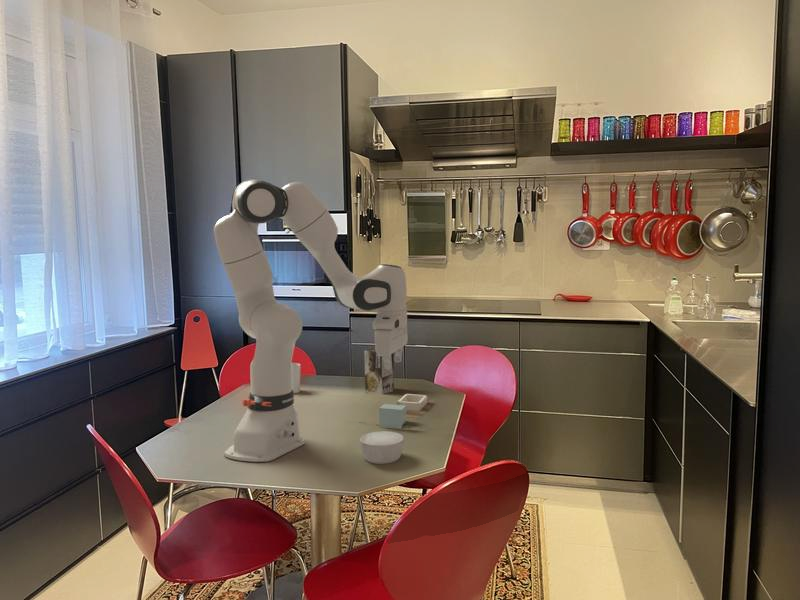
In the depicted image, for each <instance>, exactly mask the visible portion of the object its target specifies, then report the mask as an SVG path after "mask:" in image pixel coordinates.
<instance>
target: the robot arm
mask: <svg viewBox="0 0 800 600" xmlns="http://www.w3.org/2000/svg"><path fill="white" fill-rule="evenodd" d="M231 196H232V197H231V204H230V210H229V213H230V214H227V215H225V216H223V217H222V218H220V219H218V221H216V223H215V225H214V226H213V234H214V240H215V244H216V249H217V251H218V254H219V257H220V260H221V263H222V265H223V268H224V270H225V272H226V275H227V277H228V280H229V283H230V284H231V287H232V290H233V293H234V297H235V302H236V307H237V312H238V325H239V326H240V328H241V329H242V330H243V332H244V333H245V334H246V335H247V336H248V337H251V338H252V339H255V341H256V342H255V343H256V346H255V351H254V355H253V356H254V357H253V359H252V361H251V362H250V365H249V369H250V371H249V373H250V392H249V395H248V398H243V399H242V403H241V404H242V405H241V406H243V407H247V410H246V412H245V413H244V415H243V416H242V418H241V420H240V421H239V424H238V426H237V427H236V428H235V429H234V433H233V444H232V445H230V446H229V447H228V448H227V449H226V450H225V451H224V457H226V458H227V459H231V460H236V461H243V462H255V463H259V462H262V463H263V462H269V461H273V460H275V459H277V458H279V457H281V456H284V455H286V454H287V453H289V452H291V451H293V450H295V449H297V448H299V447H301V446H303V445H305V440H304V438H303V437H301V430H300V420H299V413H298V412H297V411H296V409H295V407H294V403H295V400H294V398H295V393H294V394H293V390H292V374H291V364H292V363H293V362H292V361H293V355H294V350H295V346H296V342H297V340H298V339H299V337H300V336H301V334H302V331H303V321H302V320H303V319H302V318H301V316H300V315H299V313H298V312H296V310H294V309H293V308H291V307H290V306H289V305H287V304H283V303H278V301H277V299H276V298H275V293H274V287H273V281H274V274H273V271H272V269H271V268H272V267H271V266H270V264H269V261H268V257H267V255H266V253H265V250H264V247H263V245H262V243H261V240H260V237H259V233H258V231H259V230H258V228H259V226H260V224H266V223H270V222H272V221H274V220H278V219H281V221H284V223H285V224H286V225H287V226H288V228H289V230H291V231H292V233H293V234H294V236H295V237H296V239H297V240H299V242H300V243H301V245H303V247H305V249H307V250H308V252H309V253H310V254H311V255H312V257H313V258H314V259H315V261H316V263H317V264H318V266H319V267H320V268H321V270H322V271H323V273H324V275H325V276H326V277H327V279H328V280H329V281H330V284H331V286H332V290H333V294H334V297H335V300H336V301H337V303H338V304H339V305H340V306H342V307H343V308H345V309H353V310H357V311H358V310H359V311H362V312H368V311H374V310H376V315H375V316H376V317H375V319H374V320H372V321H373V322H372V329H373V330H375V331H374V346H375V347H374V348H375V350H376V354H377V356H382V358H383V361H384V368H385V369H388V370H389V369H391V368H392V363H391V360H390V358H391V354H392V353H393V354H394V355H393V361H394V362H395V363H400V362H402V355H403V349H404V348H403V347H405V346H406V345H407V344H408V340H409V337H408V307H407V304H406V303H407V301H406V299H407V296H408V295H407V293H408V291H407V289H408V288H407V278H406V273H405V272H406V271H405V270H404V269H403V268H402V267H401V266H398V265H394V264H387V263H381V264H378V266H377V267H375V269H373V270H371V272H369V273H367V274H365V275H363V276H359V275H356V274H354V273H353V272H351V270H349V268H348V267H347V266H346V264H345V262H344V261H343V259H342V258H341V256H340V254H338V252H337V250H336V248H335V246H336V245H335V242H336V240H337V238H338V231H339V229H338V227H337V223H336V221H335V220H334V218H333V216H332V215H331V213H330V212H329V211H328V209H327V208H326V206H325V205H324V203H322V201H321V200H320V199H319V198H318V196H317V195H316V194H315V193H314V192H313V191H312V189H310V188H309V187H308V186H307V185H305V183H302V182H300V181H299V182H298V181H294V182H293V181H292V182H289V183H287V184H285V185H284V186H283V187H279V186H278V185H277V186H276V185H275V184H272V183H271V182H268V181H265V180H263V179H260V178H251V179H246V180H243V181H242V182H240V183H238V185H237V186H236V187H235V189H234V190H233V193H232V195H231Z"/></svg>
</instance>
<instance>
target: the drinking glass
mask: <svg viewBox="0 0 800 600" xmlns="http://www.w3.org/2000/svg"><path fill="white" fill-rule="evenodd" d="M291 374H292V390H293V393H294V394H298V393H300V392H301V364H300V363H297V362H296V363H295V362H292V364H291Z"/></svg>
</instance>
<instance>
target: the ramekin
mask: <svg viewBox="0 0 800 600" xmlns="http://www.w3.org/2000/svg"><path fill="white" fill-rule="evenodd" d="M404 442H405V438H404V436H403V435H402V434H400V433H399V432H394V431H386V430H384V431H371V432H368V433H365V434H363V435H362V436H361V437H360V438H359V444H360V447H361V452H362V456H363V458H364V460H365V461H366V462H368V463H370V464H375V465H377V464H379V465H385V464H391V463H395V462H396V461H398V460H399V459H400V458H401V456H402V450H403V445H404Z"/></svg>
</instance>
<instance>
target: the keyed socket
mask: <svg viewBox="0 0 800 600" xmlns="http://www.w3.org/2000/svg"><path fill="white" fill-rule="evenodd" d="M428 400H429V399H428V394H427V395H425V394H413V393H405V394H404V395H402V396H401V398H399V399H398V400H397V401H396V403H397V405H404V406H406V410H412V411H420V410H421V409H422V408H423V407H424V406H425V405H426V404H427V403H428Z"/></svg>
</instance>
